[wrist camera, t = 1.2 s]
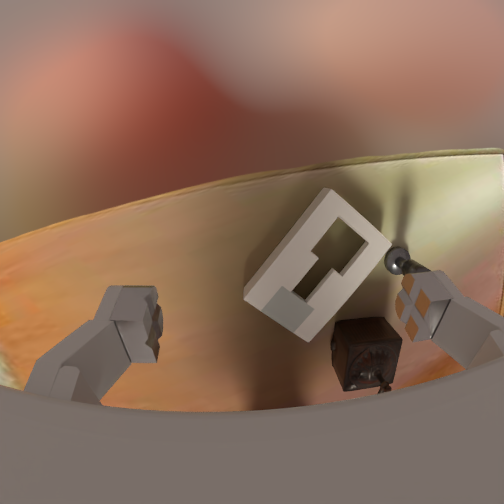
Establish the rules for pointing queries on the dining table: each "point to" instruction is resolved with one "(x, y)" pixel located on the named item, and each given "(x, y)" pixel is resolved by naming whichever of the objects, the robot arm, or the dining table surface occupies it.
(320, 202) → the keyhole board
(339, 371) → the manual coffee grinder
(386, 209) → the dining table surface
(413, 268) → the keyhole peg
